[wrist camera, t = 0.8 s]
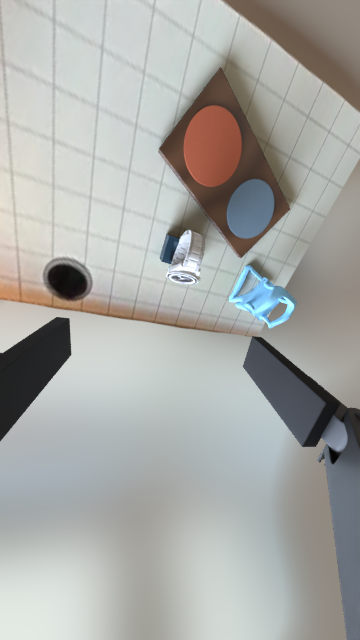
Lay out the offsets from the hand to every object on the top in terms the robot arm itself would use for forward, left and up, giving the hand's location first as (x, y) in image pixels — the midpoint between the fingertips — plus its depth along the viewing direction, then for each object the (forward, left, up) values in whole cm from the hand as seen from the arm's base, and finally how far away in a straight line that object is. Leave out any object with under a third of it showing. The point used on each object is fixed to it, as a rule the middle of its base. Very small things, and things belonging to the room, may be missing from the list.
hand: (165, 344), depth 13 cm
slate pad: (+7, +20, -24) cm, 32 cm away
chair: (+19, +11, -25) cm, 33 cm away
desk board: (+1, +20, -25) cm, 32 cm away
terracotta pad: (-4, +20, -24) cm, 31 cm away
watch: (+2, +6, -25) cm, 26 cm away
